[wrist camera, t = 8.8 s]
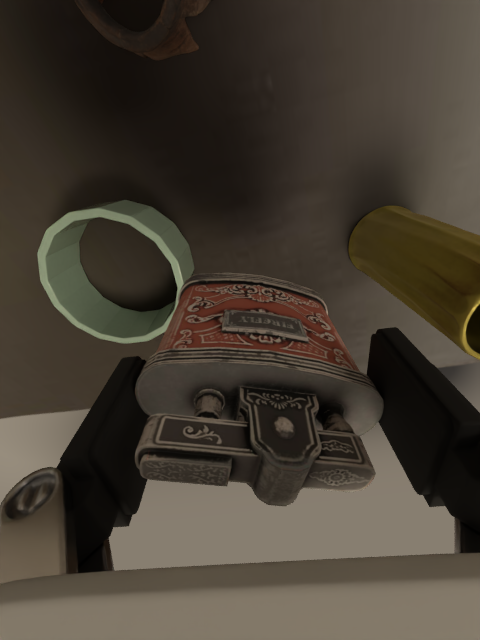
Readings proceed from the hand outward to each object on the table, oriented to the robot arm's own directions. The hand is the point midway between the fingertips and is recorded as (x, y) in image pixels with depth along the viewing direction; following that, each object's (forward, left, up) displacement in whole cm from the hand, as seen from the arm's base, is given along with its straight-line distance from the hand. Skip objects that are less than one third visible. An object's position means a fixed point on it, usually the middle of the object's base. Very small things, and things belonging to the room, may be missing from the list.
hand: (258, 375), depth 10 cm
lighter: (0, 0, -6) cm, 6 cm away
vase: (+12, -1, -18) cm, 21 cm away
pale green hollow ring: (-11, 0, -17) cm, 21 cm away
